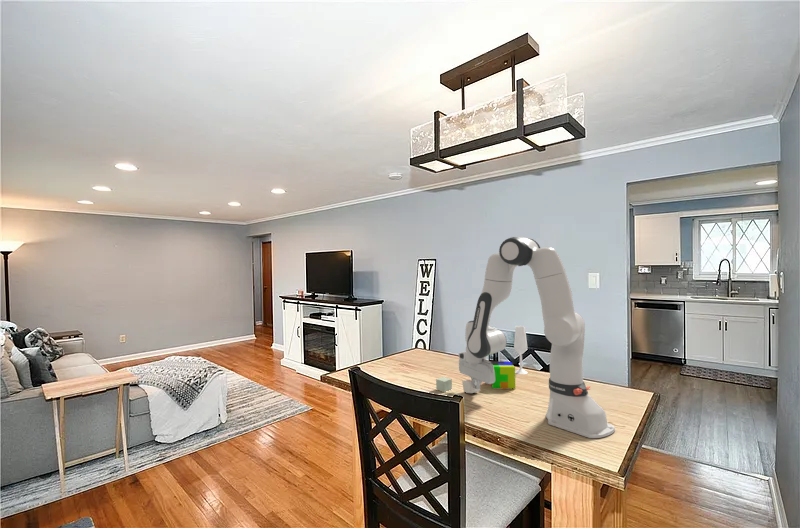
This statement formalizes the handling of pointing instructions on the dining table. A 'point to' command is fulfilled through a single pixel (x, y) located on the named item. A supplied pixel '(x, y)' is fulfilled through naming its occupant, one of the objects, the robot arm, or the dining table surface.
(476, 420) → the dining table surface
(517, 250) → the robot arm
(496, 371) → the puzzle toy
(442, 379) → the sage block
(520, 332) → the champagne flute
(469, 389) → the letter block
